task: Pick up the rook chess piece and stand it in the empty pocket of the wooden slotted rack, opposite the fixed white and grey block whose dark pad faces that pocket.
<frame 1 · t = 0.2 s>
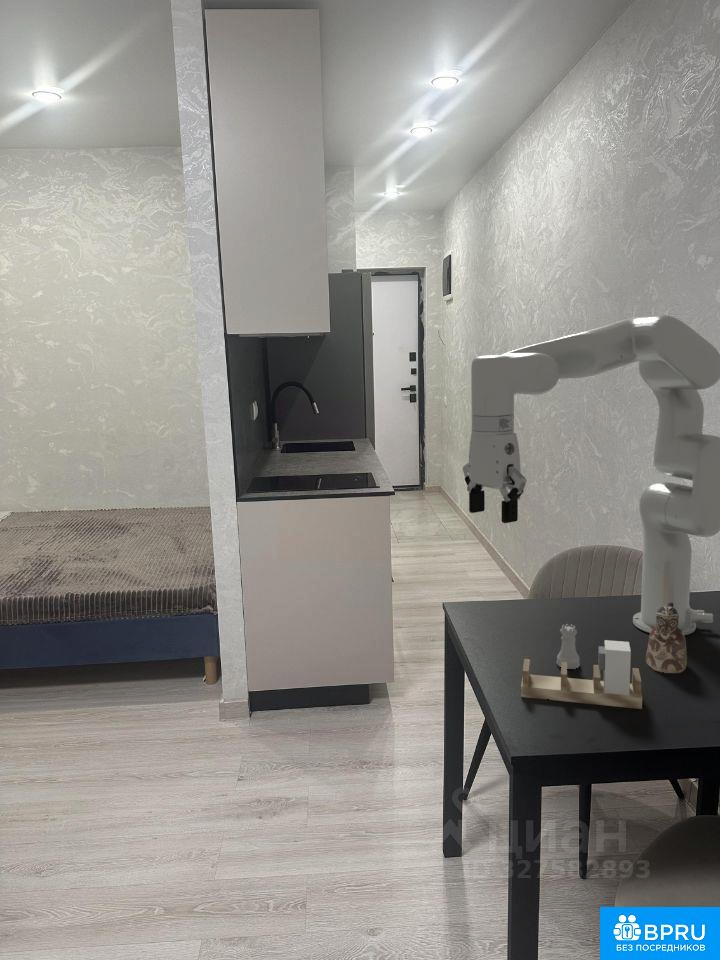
hand: (492, 516, 129), 30 cm above the table, tool pointing down, fingers open, 9 cm apart
wooden slotted rack: (579, 695, 123), on the table
figurine: (665, 665, 133), on the table
white and grey block: (616, 688, 121), resting on wooden slotted rack
rook chess piece: (568, 666, 135), on the table
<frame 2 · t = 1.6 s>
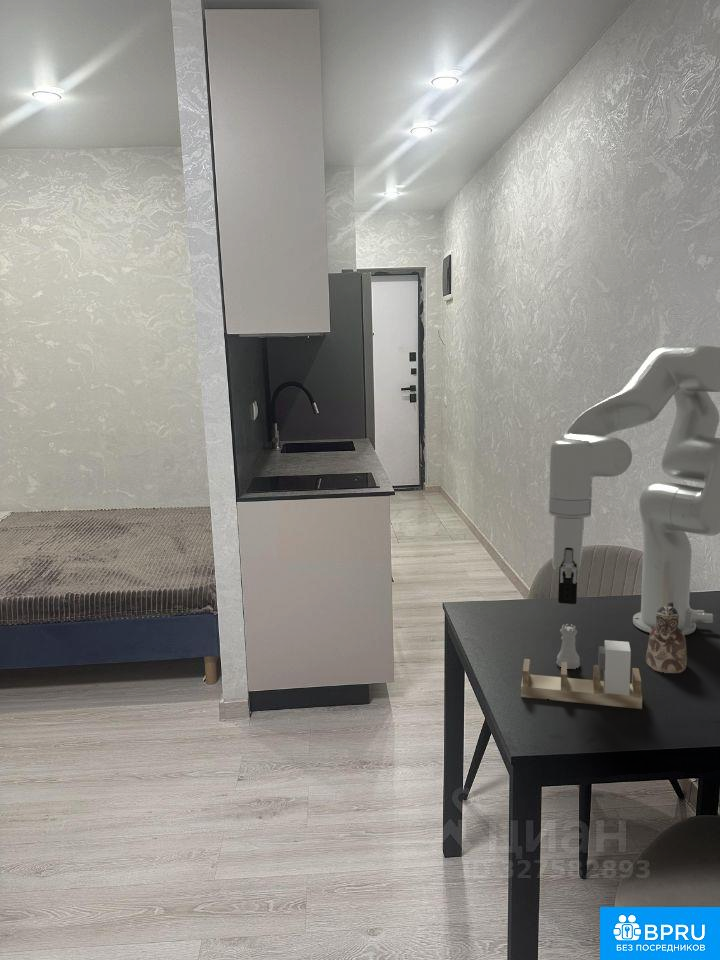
hand: (567, 594, 132), 15 cm above the table, tool pointing down, fingers open, 9 cm apart
nothing on the table moved.
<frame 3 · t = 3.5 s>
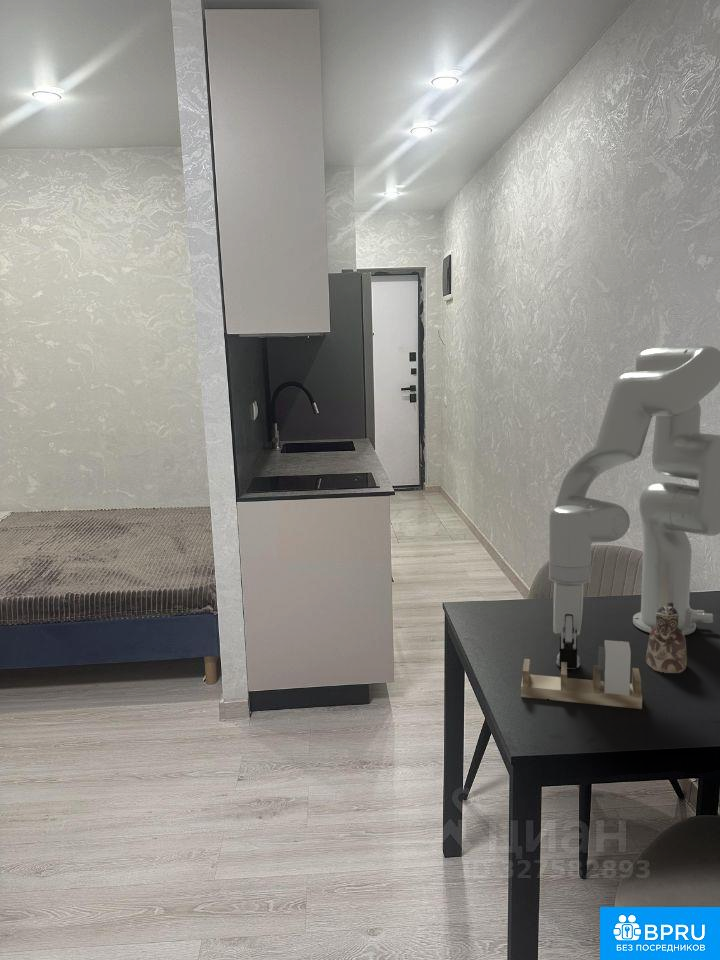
hand: (568, 660, 135), 1 cm above the table, tool pointing down, fingers closed on rook chess piece, 4 cm apart
rook chess piece: (568, 666, 135), on the table, touching gripper
everything else where it was.
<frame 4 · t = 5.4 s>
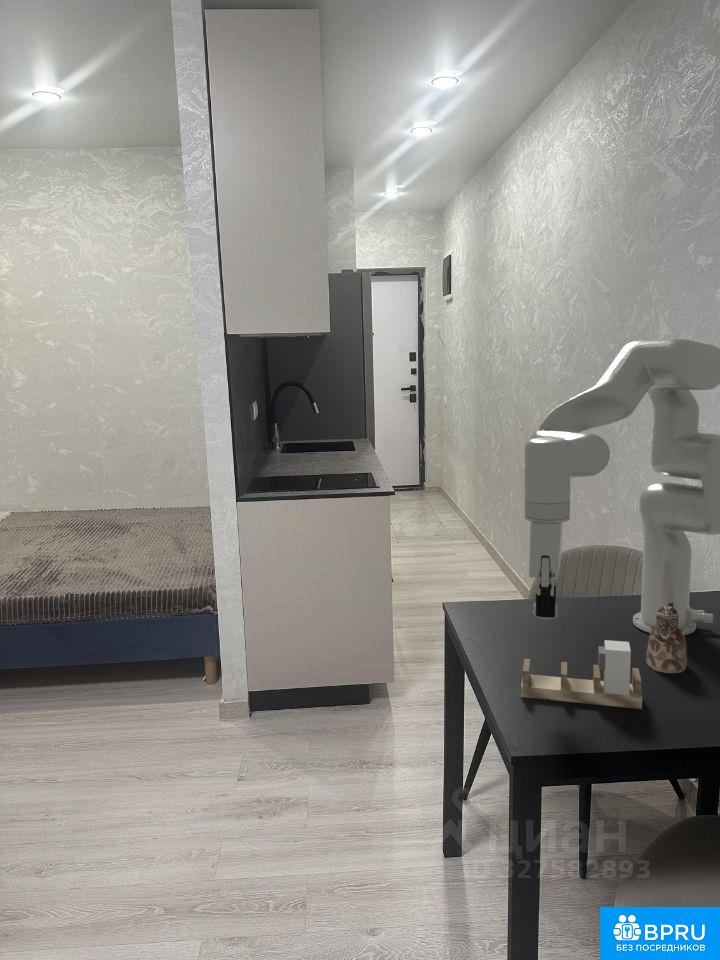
hand: (545, 610, 122), 15 cm above the table, tool pointing down, fingers closed on rook chess piece, 4 cm apart
rook chess piece: (545, 616, 122), point 14 cm above the table, touching gripper
everything else where it was.
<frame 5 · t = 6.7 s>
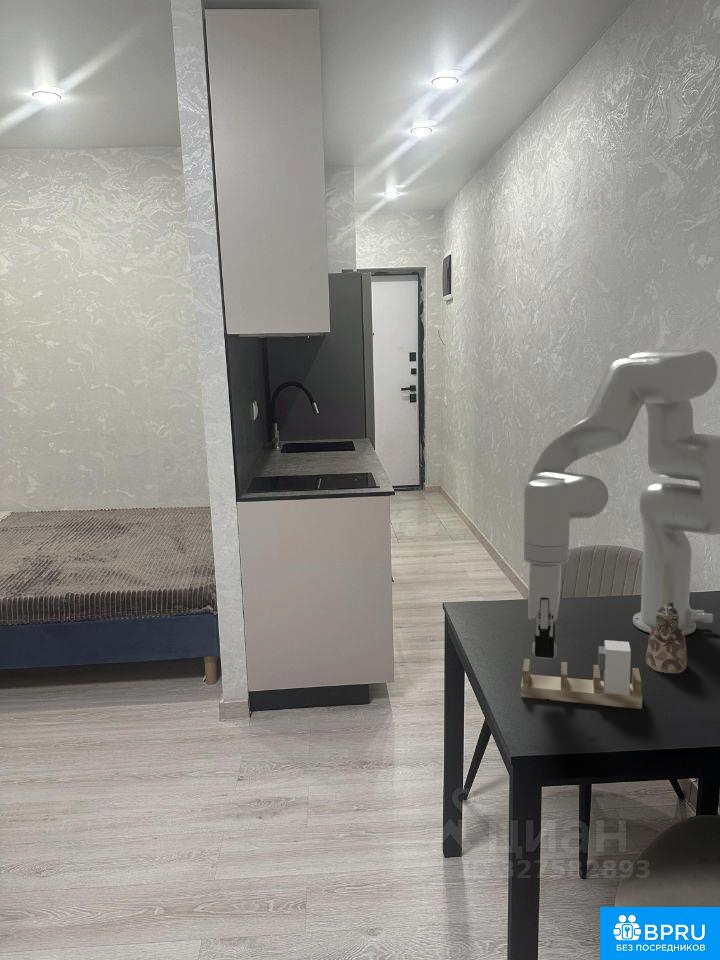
hand: (544, 649, 123), 8 cm above the table, tool pointing down, fingers closed on rook chess piece, 4 cm apart
rook chess piece: (544, 655, 123), point 7 cm above the table, touching gripper
everything else where it was.
when the fingers open (4 cm above the table, at t = 7.8 s): rook chess piece stays where it is, resting on wooden slotted rack.
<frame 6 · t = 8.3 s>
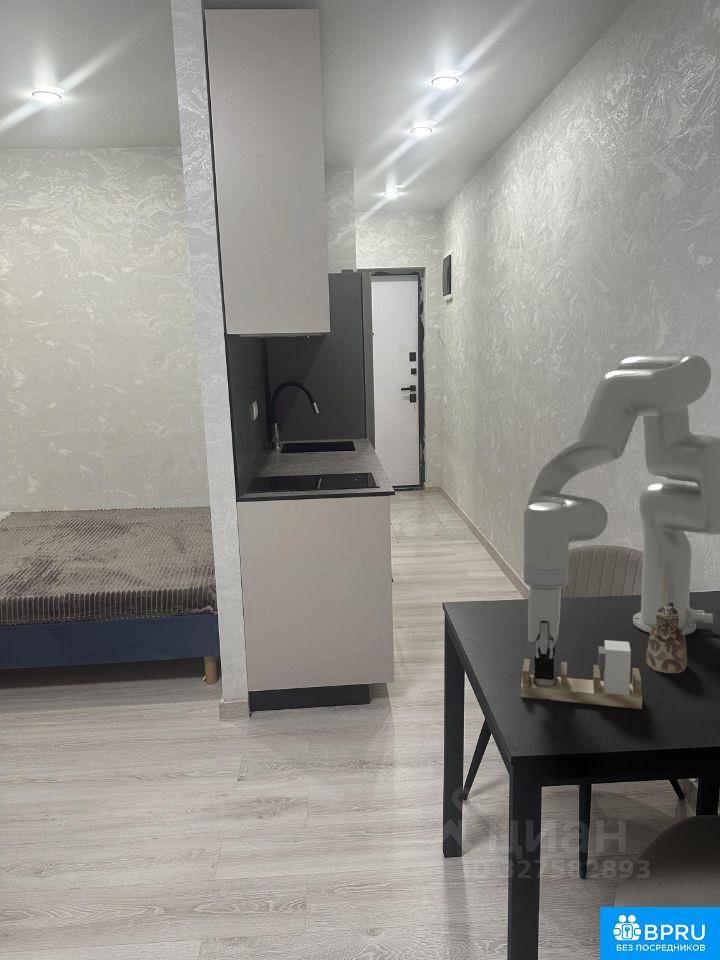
hand: (545, 666, 124), 5 cm above the table, tool pointing down, fingers open, 9 cm apart
rook chess piece: (545, 682, 124), point 2 cm above the table, touching wooden slotted rack
everything else where it was.
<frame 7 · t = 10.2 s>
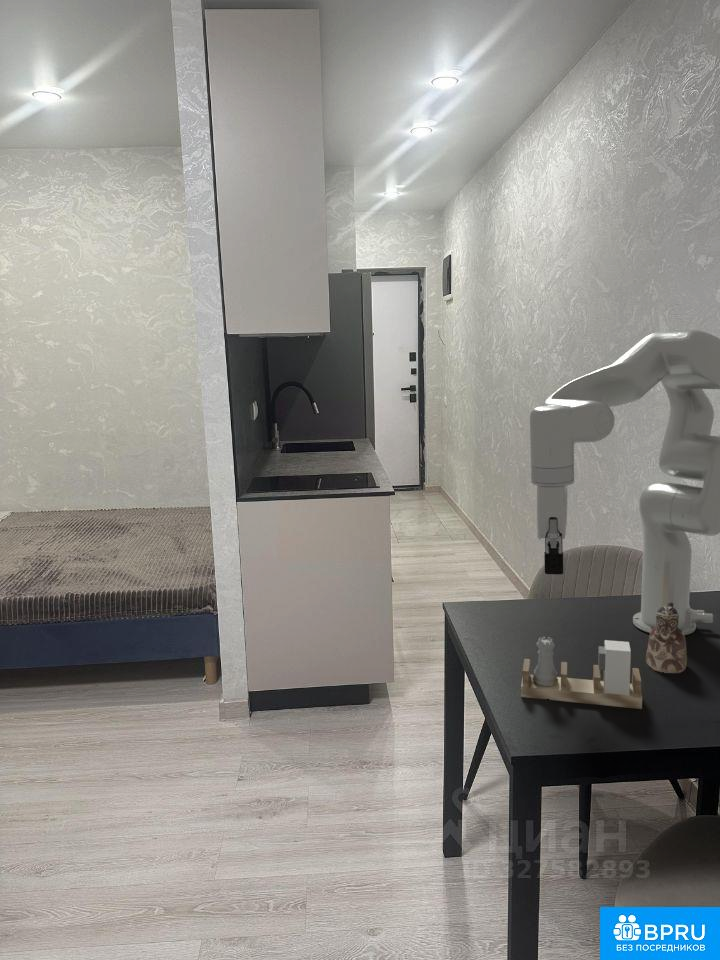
hand: (553, 564, 129), 21 cm above the table, tool pointing down, fingers open, 9 cm apart
nothing on the table moved.
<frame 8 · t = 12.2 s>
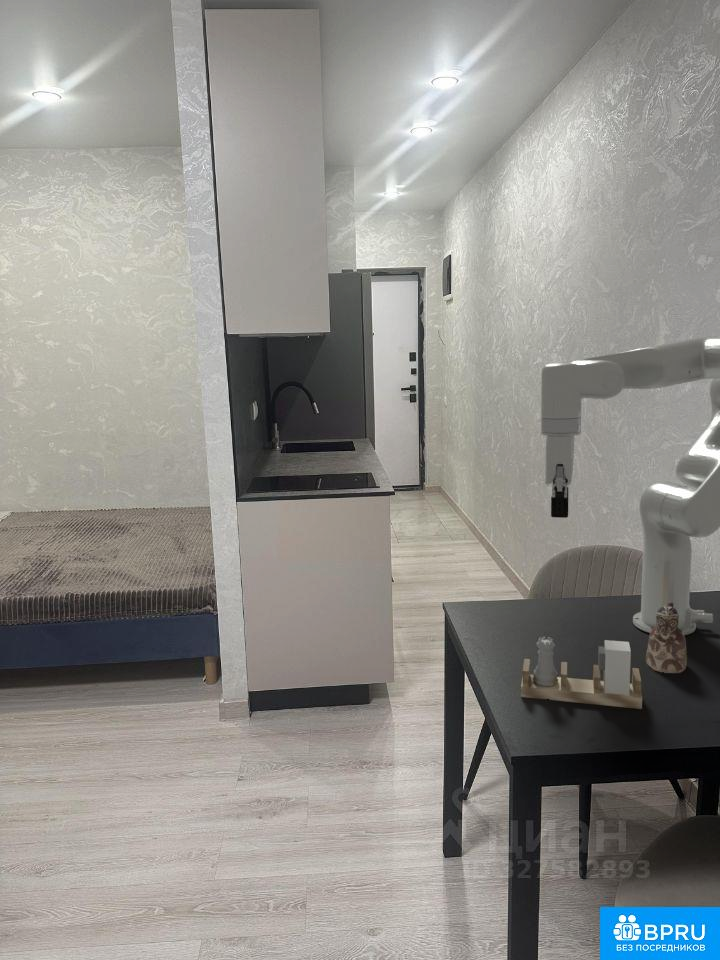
hand: (559, 511, 140), 28 cm above the table, tool pointing down, fingers open, 9 cm apart
nothing on the table moved.
at the end: rook chess piece 0.2 cm from the target spot on the wooden slotted rack, point 1.8 cm above the wooden slotted rack's base; rook chess piece tilted 0°; the gripper is holding nothing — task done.
